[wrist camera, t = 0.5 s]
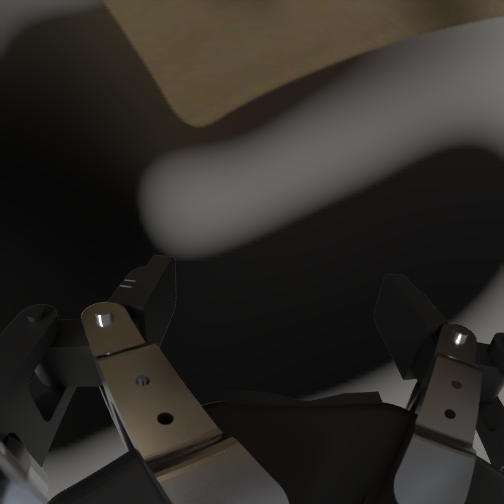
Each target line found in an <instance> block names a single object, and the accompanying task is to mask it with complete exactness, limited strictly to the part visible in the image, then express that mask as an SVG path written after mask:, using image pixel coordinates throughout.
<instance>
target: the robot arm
mask: <svg viewBox="0 0 504 504" xmlns="http://www.w3.org/2000/svg"><path fill="white" fill-rule="evenodd" d="M175 271H176V270H175V259H174V257H168V256H156V255H154V256H153V258H152V259H151V260H150V262H149V263H148V264H147V266H146V267H139V268H137V269H135V270H133V271H131V272H130V273H129V274H128V276H127V277H126V278H125V280H124V281H123V282H122V284H120V287H118V288H117V290H116V291H115V292H114V294H113V295H112V296H111V298H110V299H109V300H108V302H102V303H97V304H94V305H92V306H90V307H88V308H87V309H85V310H84V311H83V313H82V315H81V319H69V320H58V316H57V312H56V310H55V309H54V308H53V307H52V306H49V305H43V304H40V305H34V306H30V307H28V308H26V309H24V310H23V311H22V312H20V313H19V314H18V315H17V316H16V318H15V319H14V320H13V321H12V322H11V323H10V324H9V326H8V327H7V328H6V329H5V330H4V331H3V333H2V334H1V335H0V504H504V406H503V405H502V403H501V401H500V400H499V398H498V396H497V395H498V394H499V392H500V391H501V389H502V388H503V386H504V333H496V334H495V335H494V337H493V339H492V341H491V343H490V344H484V343H478V342H477V338H476V336H475V334H474V333H473V332H472V331H471V330H469V329H468V328H466V327H464V326H462V325H460V324H455V323H448V322H447V321H446V319H445V318H444V317H443V316H442V315H441V313H440V312H439V311H438V310H437V309H435V306H434V305H433V304H432V303H430V302H431V301H430V300H429V299H428V298H427V297H426V295H425V294H423V293H422V292H420V291H419V290H417V289H416V288H415V286H414V285H413V284H412V283H411V282H410V281H409V279H408V278H407V277H406V276H404V275H392V274H387V275H386V276H385V277H384V280H383V283H382V286H381V290H380V293H379V297H378V300H377V304H376V307H375V312H374V321H375V325H376V327H377V329H378V330H379V332H380V334H381V336H382V338H383V340H384V342H385V344H386V346H387V348H388V350H389V352H390V354H391V356H392V358H393V360H394V362H395V364H396V366H397V368H398V370H399V372H400V374H401V376H402V378H403V380H409V379H417V382H416V384H415V386H414V388H413V390H412V393H411V396H410V398H409V400H408V403H407V405H406V408H405V409H404V408H402V407H399V406H396V405H393V404H389V403H383V402H382V400H381V397H380V395H379V392H363V393H343V394H339V395H335V396H331V397H326V398H322V399H317V400H312V401H303V400H298V399H293V398H288V397H284V396H280V395H275V394H271V393H266V392H251V391H236V390H226V396H225V401H220V402H214V403H209V404H205V405H202V406H200V404H199V403H198V402H197V400H196V399H195V398H194V396H193V395H192V394H191V392H190V391H189V390H188V388H187V387H186V386H185V384H184V383H183V382H182V380H181V379H180V377H179V376H178V375H177V373H176V372H175V370H174V369H173V368H172V366H171V365H170V364H169V362H168V361H167V359H166V358H165V356H164V355H163V353H162V352H161V351H160V349H159V347H160V345H161V342H162V340H163V337H164V334H165V332H166V329H167V327H168V324H169V322H170V320H171V317H172V314H173V312H174V309H175V304H176V274H175V273H176V272H175ZM34 371H35V372H36V374H35V376H34V378H33V379H32V381H31V382H30V384H29V381H30V377H31V376H32V374H33V372H34ZM84 386H85V387H86V386H99V387H100V390H101V392H102V395H103V397H104V399H105V402H106V404H107V407H108V409H109V411H110V414H111V416H112V418H113V420H114V423H115V425H116V427H117V429H118V431H119V434H120V436H121V438H122V441H123V443H124V445H125V447H126V449H127V452H126V453H125V454H123V455H122V456H120V457H119V458H117V459H116V460H114V461H112V462H111V463H109V464H108V465H106V466H104V467H103V468H101V469H100V470H98V471H96V472H94V473H93V474H91V475H90V476H88V477H86V478H84V479H83V480H81V481H79V482H78V483H76V484H74V485H73V486H71V487H69V488H67V489H66V490H63V491H62V492H60V493H58V494H57V495H56V496H54V497H53V498H52V499H51V500H50V501H49V502H48V500H47V493H48V487H49V486H48V485H49V483H48V479H47V476H46V474H45V472H44V471H43V469H42V468H41V467H42V465H43V462H44V460H45V457H46V455H47V452H48V450H49V447H50V445H51V442H52V440H53V438H54V435H55V433H56V431H57V428H58V426H59V424H60V422H61V419H62V417H63V415H64V413H65V410H66V408H67V406H68V404H69V402H70V399H71V397H72V395H73V393H74V391H75V389H76V387H84ZM475 429H476V431H477V433H478V435H479V437H480V439H481V441H482V444H483V446H484V448H485V450H486V453H487V455H488V457H489V460H490V462H491V464H489V463H488V462H486V461H485V460H483V459H482V458H480V457H478V456H477V455H476V451H475V450H474V449H473V440H474V435H475Z"/></svg>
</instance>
